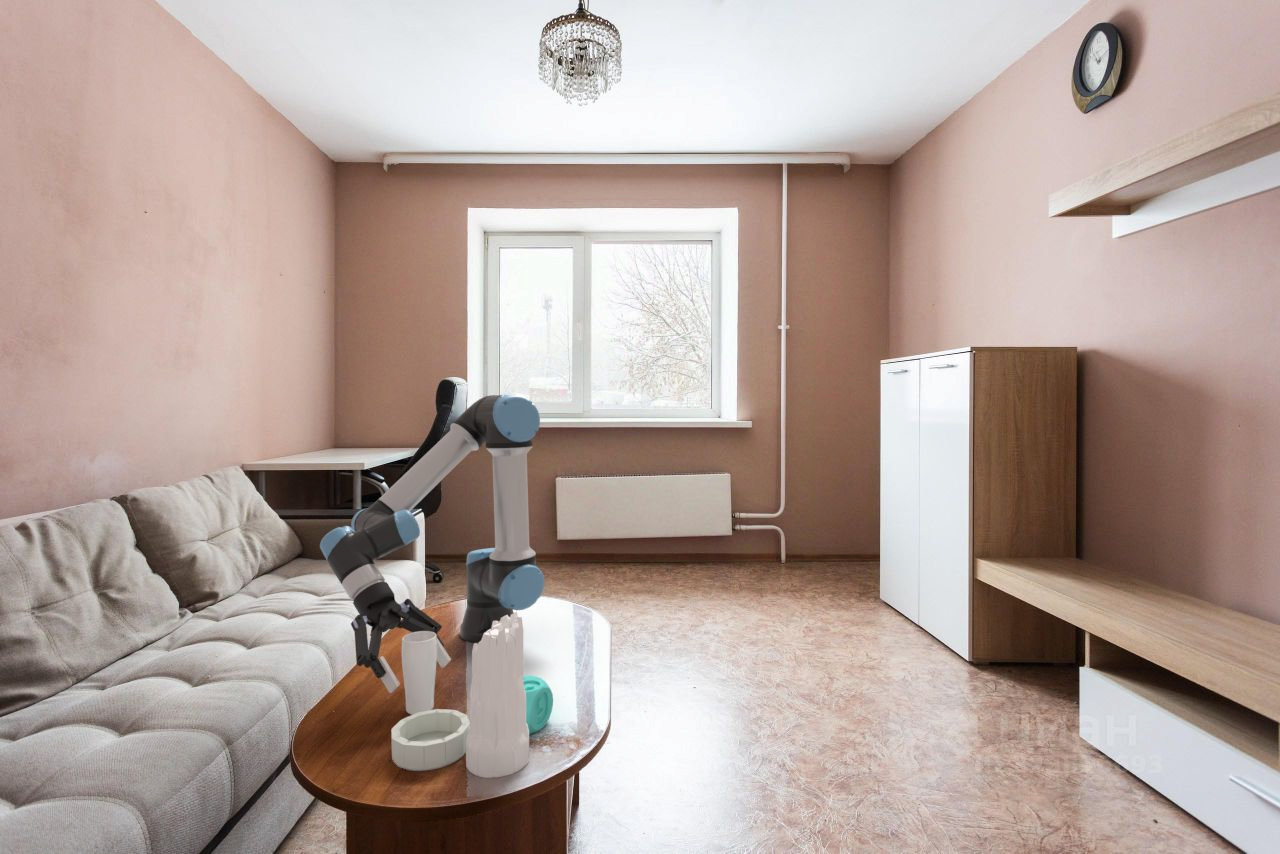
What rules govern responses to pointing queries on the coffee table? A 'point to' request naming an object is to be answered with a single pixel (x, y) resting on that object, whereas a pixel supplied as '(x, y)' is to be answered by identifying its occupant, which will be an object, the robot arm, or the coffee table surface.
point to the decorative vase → (498, 702)
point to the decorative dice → (537, 702)
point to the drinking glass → (419, 670)
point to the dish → (429, 739)
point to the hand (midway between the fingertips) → (422, 675)
